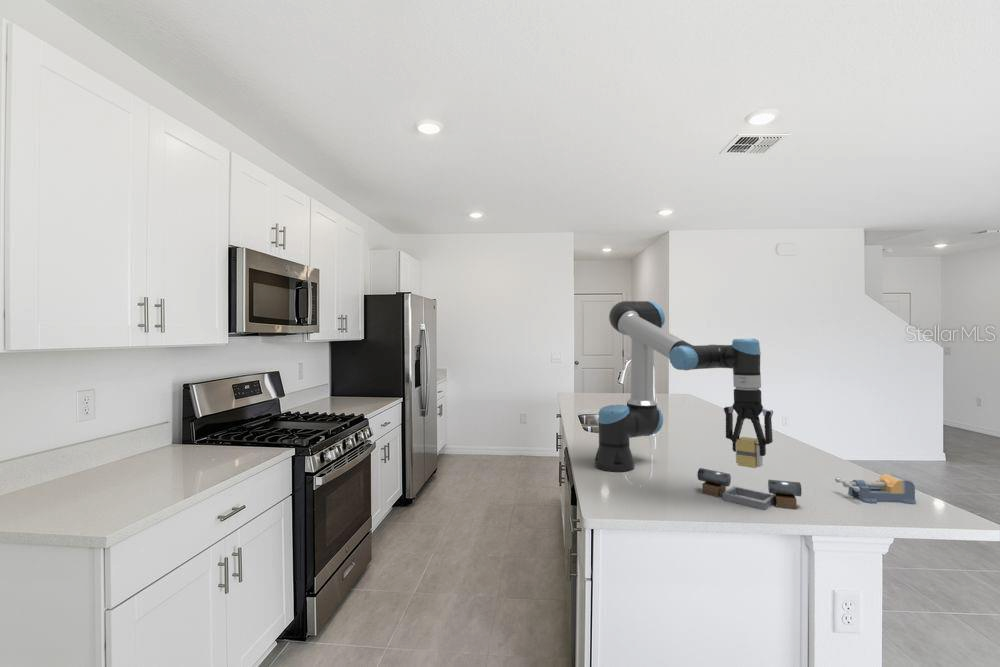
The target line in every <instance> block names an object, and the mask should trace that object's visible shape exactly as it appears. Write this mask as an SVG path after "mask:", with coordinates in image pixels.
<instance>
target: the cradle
mask: <svg viewBox="0 0 1000 667" xmlns="http://www.w3.org/2000/svg"><path fill="white" fill-rule="evenodd" d="M744 495H745V496H744ZM748 496H749V497H748ZM757 499H758V500H757ZM722 500H723V501H726V502H729V503H734V504H739V505H742V506H747V507H751V508H754V509H759V510H763V511H766V510H768V508H770V507H771V506H772V505H773V504H775V496H774V495H773V494H771V493H769V492H765V491H763V492H762V491H759V490H754V489H749V488H744V487H741V486H736V485H733V486H732V487H730V488H729V489H726V491H725V492H724V493H723V494H722ZM762 500H763V501H762Z"/></svg>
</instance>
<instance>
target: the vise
mask: <svg viewBox="0 0 1000 667" xmlns="http://www.w3.org/2000/svg"><path fill="white" fill-rule="evenodd" d="M834 481H835V482H836V483H841V484H842V486H843V487H844V488H848V490H847V494H848V496H851V497H858V500H859V502H860V501H861V502H862V503H865V504H866V503H867V504H872V505H875V504H878V503H902V504H906V505H907V504H908V505H916V504H917V500H916V486H915V484H914V483H913V482H912V481H911V480H907V479H905V478H903V477H900V476H897V475H896V474H894V473H893V474H892V473H890V474H889V473H884V474H882V475H880V477H879V478H878V480H875V481H865V480H863V479H853V480H851V481H850V480H849V481H848V480H847V481H843V480H842V479H841V478H840V477H835V479H834Z"/></svg>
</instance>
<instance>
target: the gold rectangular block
mask: <svg viewBox="0 0 1000 667" xmlns="http://www.w3.org/2000/svg"><path fill="white" fill-rule="evenodd" d="M758 444H759V442H758V439H757V437H755V438H754V437H747V436H740V437H739V439H737V459H738V463H737V466H740V467H745V468H746V467H747V468H752V469H756V468H758V467H757V452H756V445H758Z"/></svg>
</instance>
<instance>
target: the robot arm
mask: <svg viewBox="0 0 1000 667" xmlns="http://www.w3.org/2000/svg"><path fill="white" fill-rule="evenodd" d="M665 319H666V316H665V313H664V310H663V308H662V306H660V305H659V304H658V303H656V302H654V301H649V300H648V301H647V300H644V301H643V300H641V301H638V300H633V301H632V300H631V301H629V300H623V301H619V302H617V303H616V304H614V305H613V306H612V308H611V309H610V311H609V316H608V320H609V324H610V326H611V327H612V328H613V329H614V330H615V331H617V332H619V333H620V334H622V335H625V336H628V337H629V338H630V339H631V350H630V351H631V352H630V353H631V354H630V356H631V358H630V363H631V367H630V368H631V369H630V398H629V399H628V400H627V401H626V404H610V405H607V406H606V405H605V406H603V407H601V408H600V409H599V411H598V419H597V422H598V448H597V451H596V455H595V458H594V466H595V467H596V469H599V470H602V471H606V472H615V473H616V472H629V471H632V470H634V469H635V460H634V457H633V454H632V451H631V446H630V438H631V439H633V438H638V437H649V436H651V435H655V434H657V433H658V432H660V430H661V429H662V426H663V424H664V417H663V416H664V415H663V413H662V411H661V409H660V408H659V407H658V403H657V402H656V401H655V400H654V359H655V358H654V356H655V352H654V351H656V352H657V353H659V354H661V355H662V356H664V357H665V358H668V360H669V363H670V364H671V366H672V368H674V369H676V370H678V371H692V370H703V369H704V370H705V369H707V370H708V369H731V370H732V374H733V375H732V376H733V378H732V380H733V388H734V389H733V404H732V405H731V406H725V407H724V408H723V412H724V414H725V439H728V440H731V442H732V451H733V452H734V453H735V463H736V464H738V459H737V439H739V438H740V437H741V433H742V428H743V425H744V421H745V420H746V419H747V420H750V421H751V423H752V425H753V429H754V432H755V435H756V438H757V439H758V442H759V444H758V445H756V452H757V468H760V467H762V466H764V465H763V464H764V463H763V462H764V461H763V460H764V459H763V457H764V456H766V454H767V452H766V451H767V448H766V446H767V445H770V444H771V443H773V427H772V423H773V422H772V418H773V417H772V416H773V414H774V411H773V410H771V409H770V410H769V409H766V408H764V406H763V404H762V390H761V388H762V376H761V355H762V353H761V346H760V340H759V339H757V338H734V339H732V344H707V345H706V344H705V345H702V344H701V345H693V344H691V343H689V342H687V341H685V340H684V339H682V338H679V337H678V336H676V335H674V334H673V333H671V332H669V331H667V330H664V329H663V326H664V325H665V321H666V320H665ZM734 412H735V414H736V415H737V417H736V422H735V426H734V424H733V423H734V420H733V419H734V418H733V417H734V416H733V413H734ZM761 414H762V416H763V417H764V418H763V419H764V422H763V425H764V432H763V429H762V426H761V422H760V415H761ZM733 426H734V427H733Z"/></svg>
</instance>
